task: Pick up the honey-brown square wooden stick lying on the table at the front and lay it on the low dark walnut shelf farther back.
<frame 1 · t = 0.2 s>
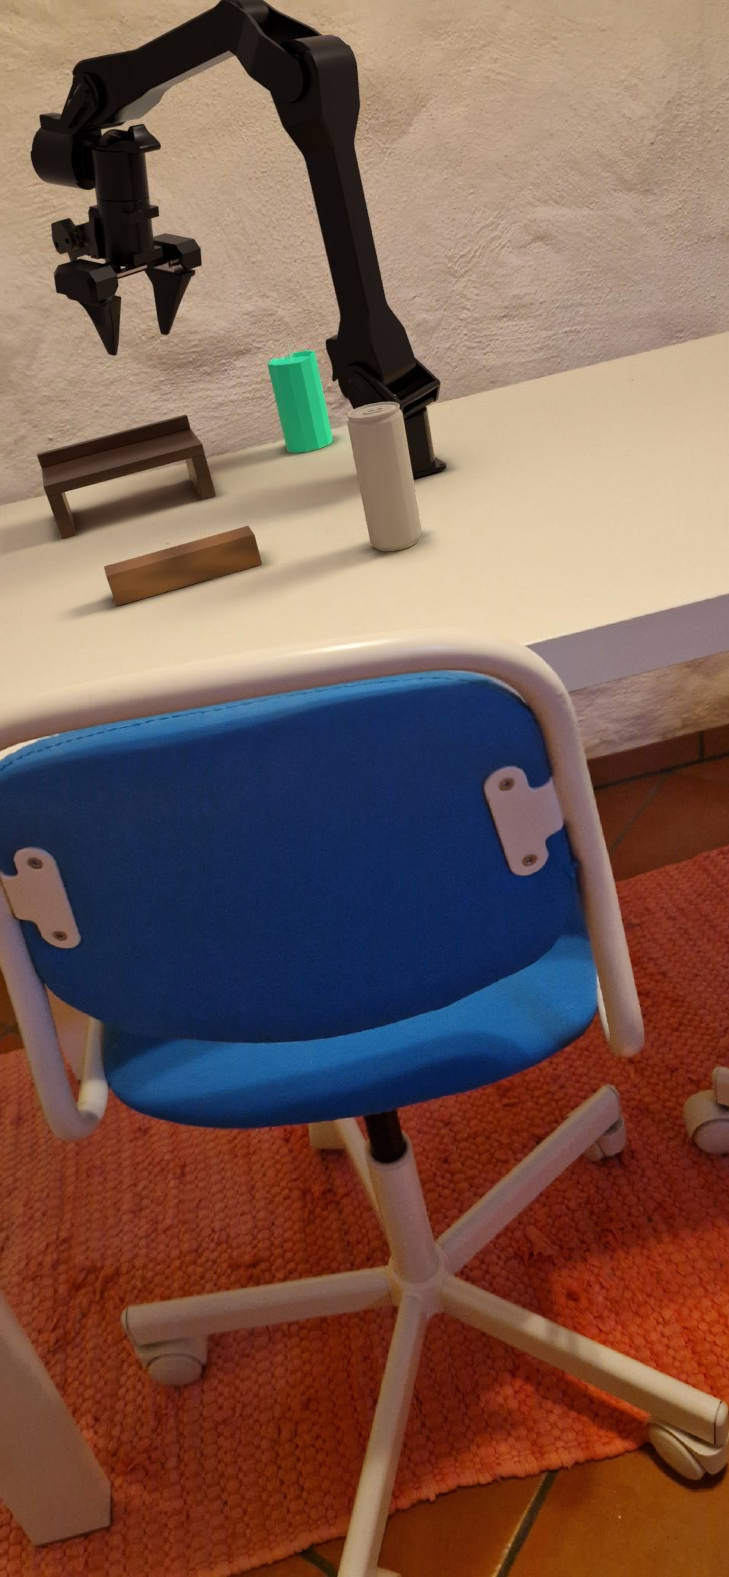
hand: (139, 344, 125), 15 cm above the table, tool pointing down, fingers open, 9 cm apart
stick: (187, 580, 99), on the table
candle: (310, 446, 133), on the table
beverage can: (397, 545, 97), on the table
shelf: (135, 506, 124), on the table
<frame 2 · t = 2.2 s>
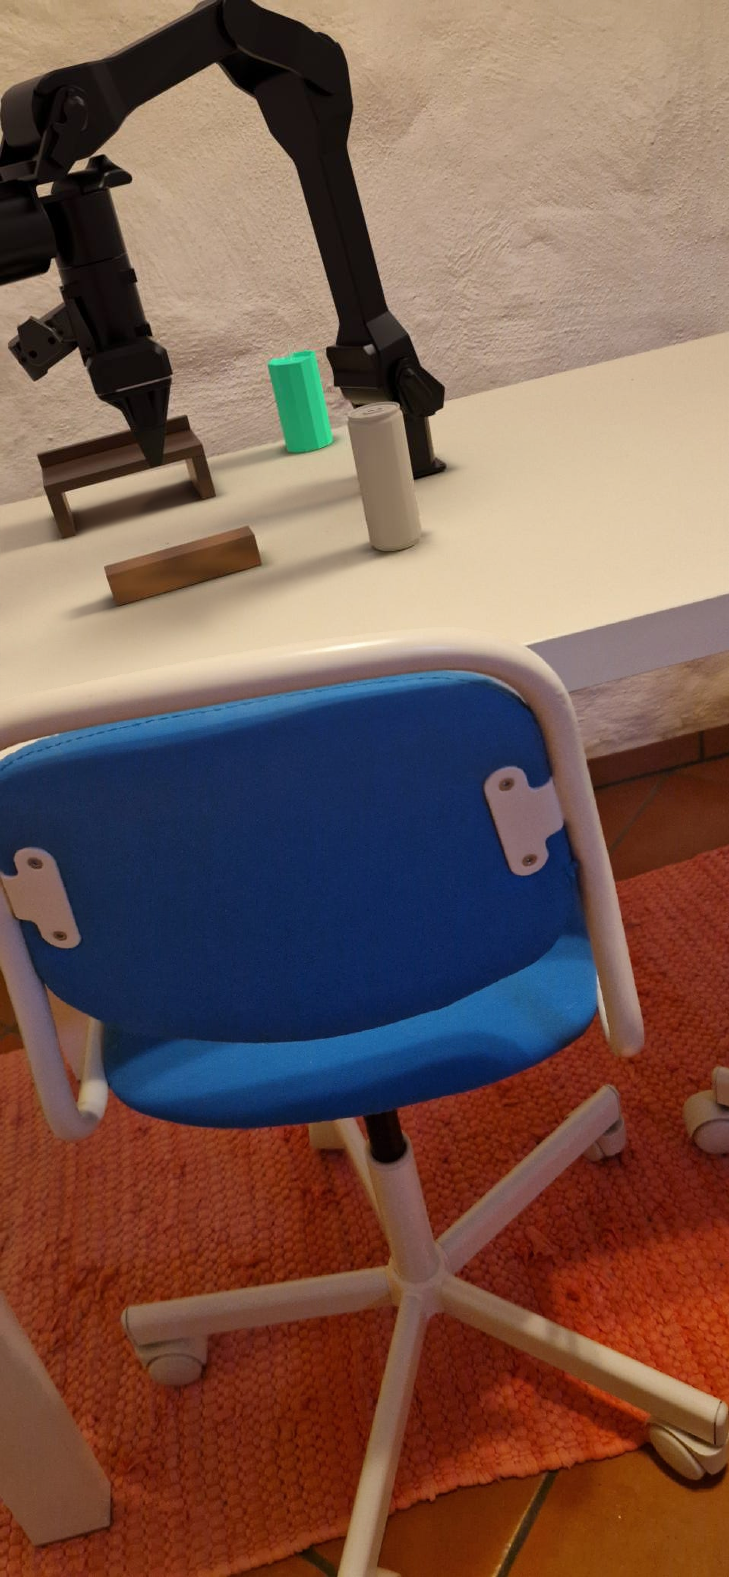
hand: (150, 454, 93), 12 cm above the table, tool pointing down, fingers open, 9 cm apart
nothing on the table moved.
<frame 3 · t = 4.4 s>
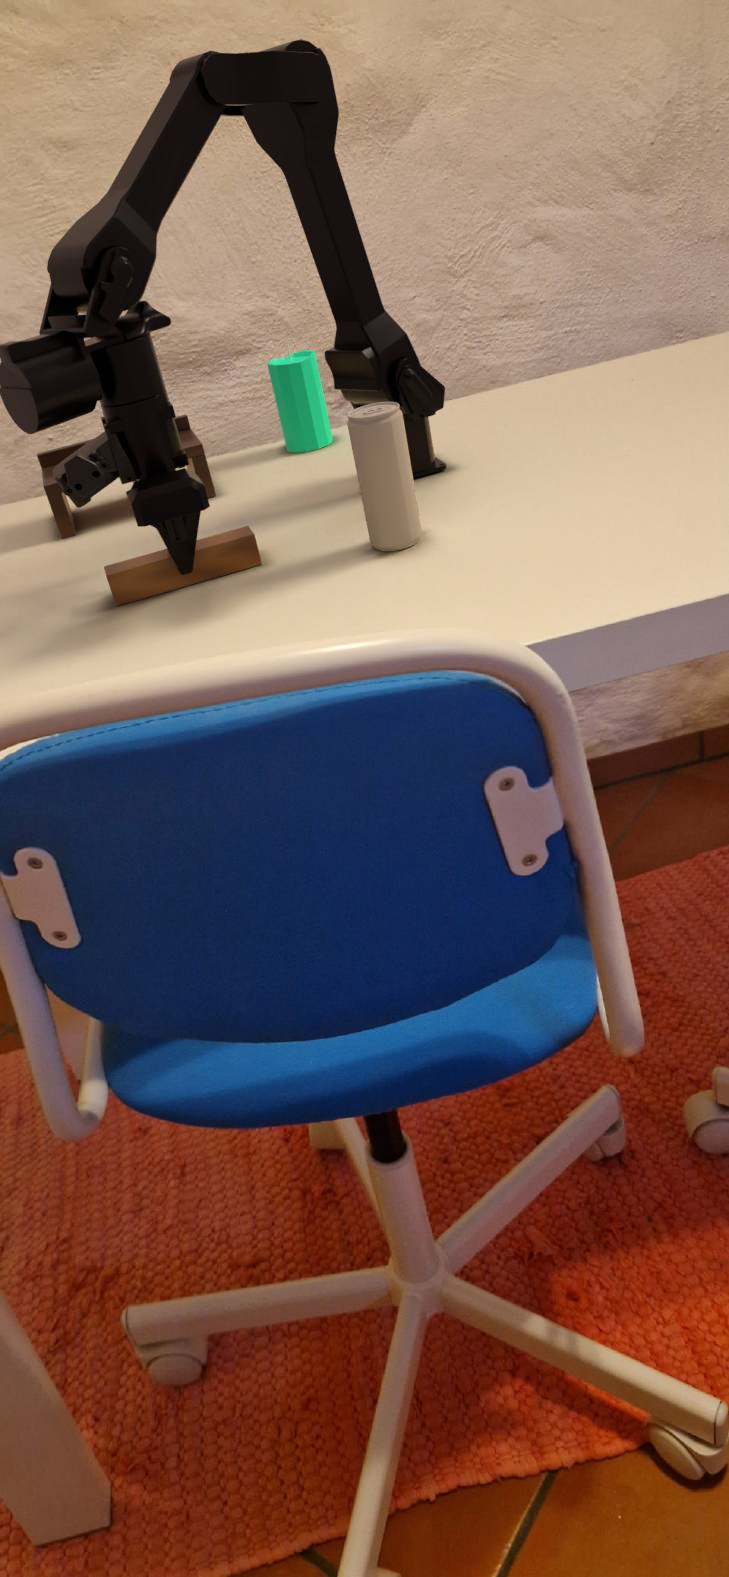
hand: (184, 568, 99), 1 cm above the table, tool pointing down, fingers closed on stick, 3 cm apart
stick: (187, 580, 99), on the table, touching gripper
everything else where it was.
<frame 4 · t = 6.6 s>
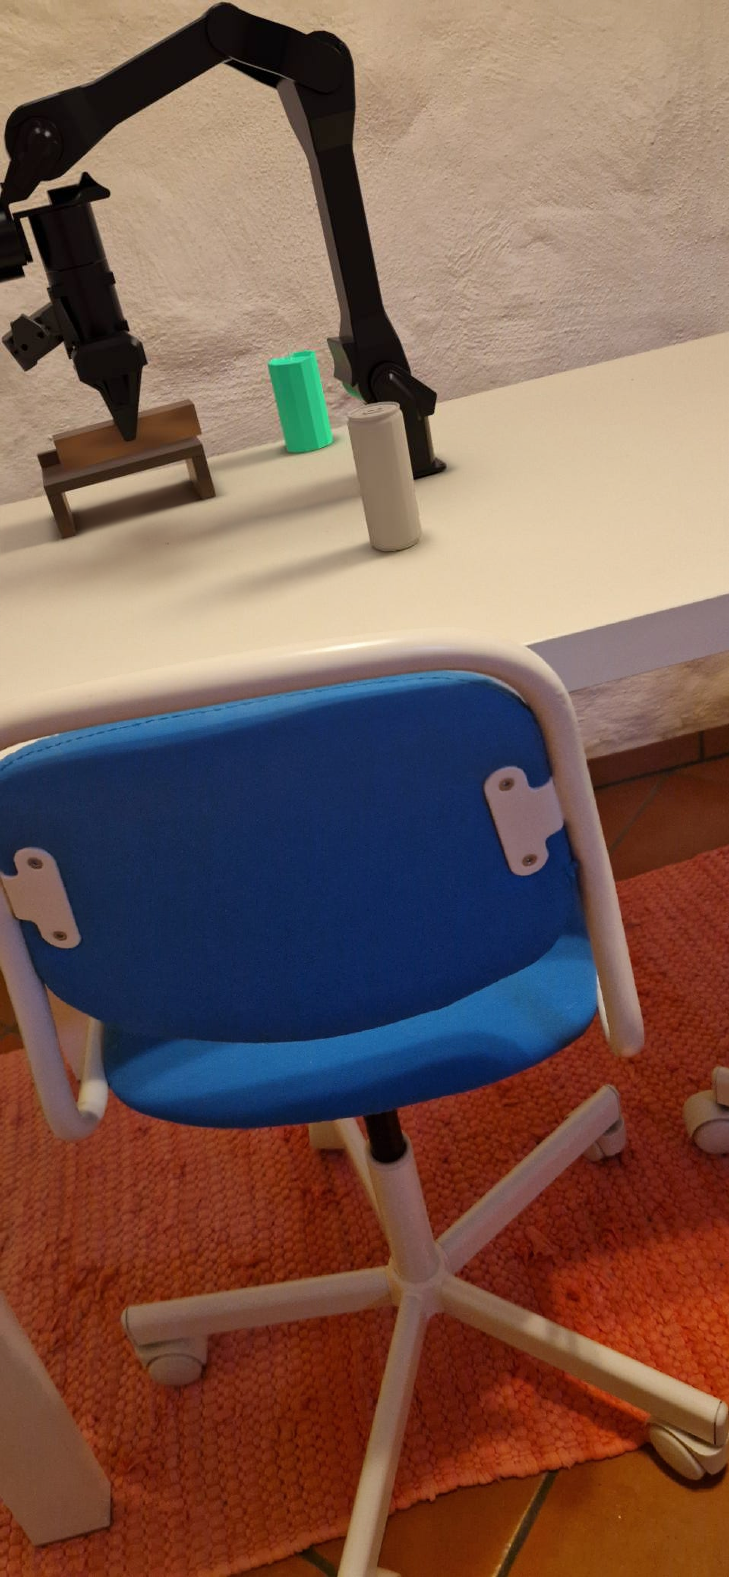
hand: (128, 437, 105), 11 cm above the table, tool pointing down, fingers closed on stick, 3 cm apart
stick: (132, 450, 105), point 10 cm above the table, touching gripper
everything else where it was.
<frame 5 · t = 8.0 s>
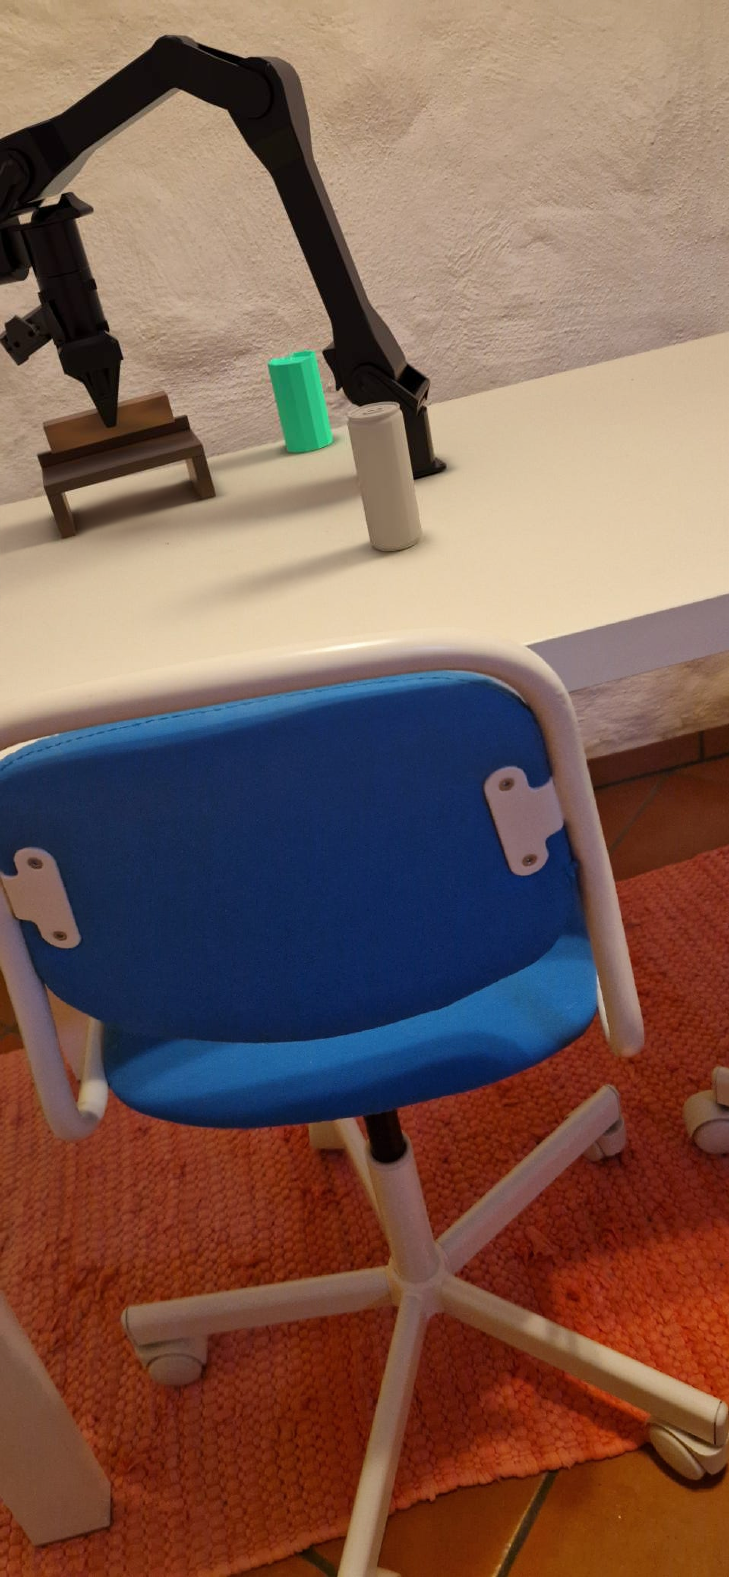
hand: (110, 424, 119), 10 cm above the table, tool pointing down, fingers closed on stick, 3 cm apart
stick: (113, 435, 119), point 8 cm above the table, touching gripper
everything else where it was.
when the fingers open (7 cm above the table, at t = 9.0 s): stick stays where it is, resting on shelf.
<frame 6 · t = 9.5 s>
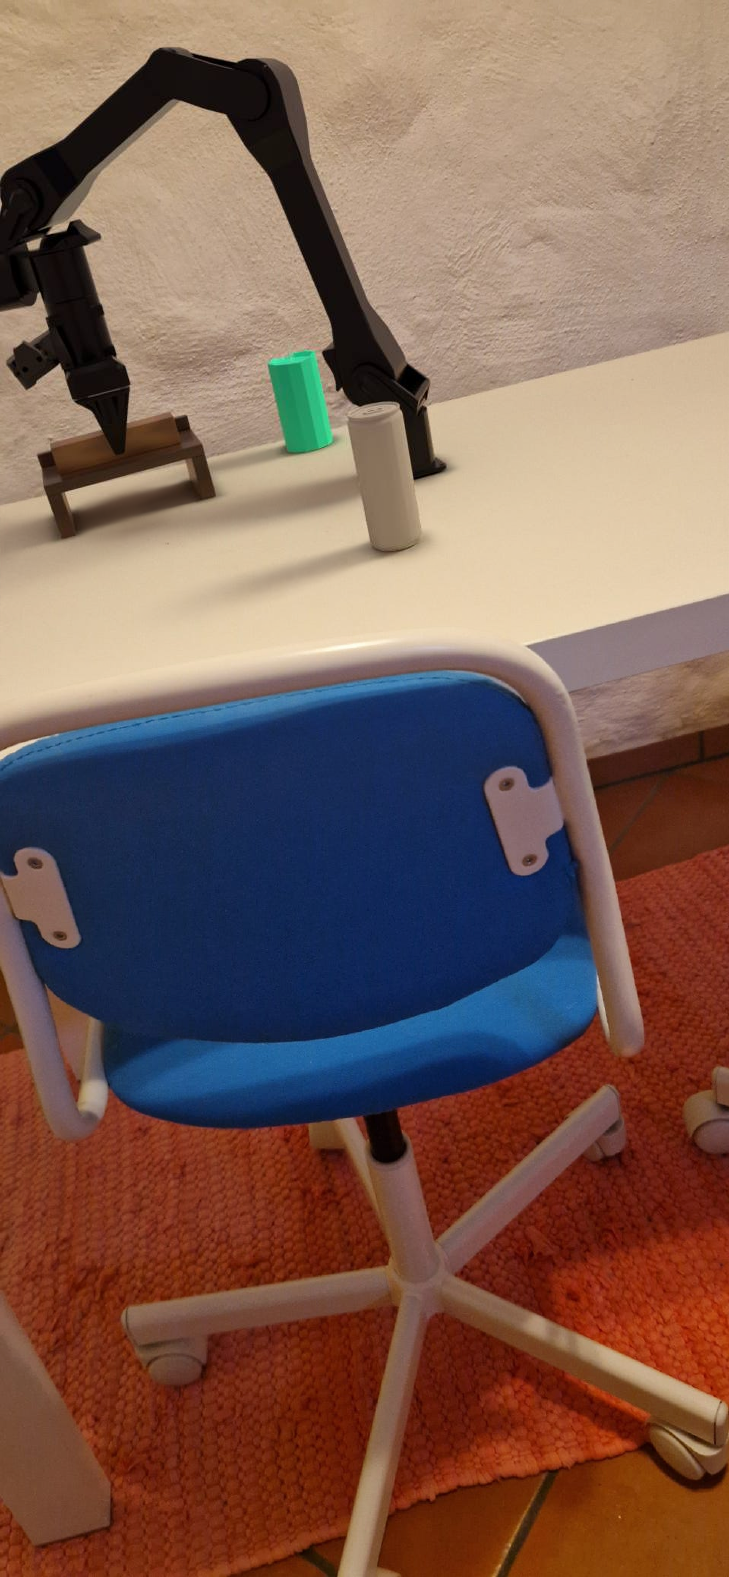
hand: (116, 446, 120), 7 cm above the table, tool pointing down, fingers open, 8 cm apart
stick: (119, 456, 121), point 6 cm above the table, touching shelf
everything else where it was.
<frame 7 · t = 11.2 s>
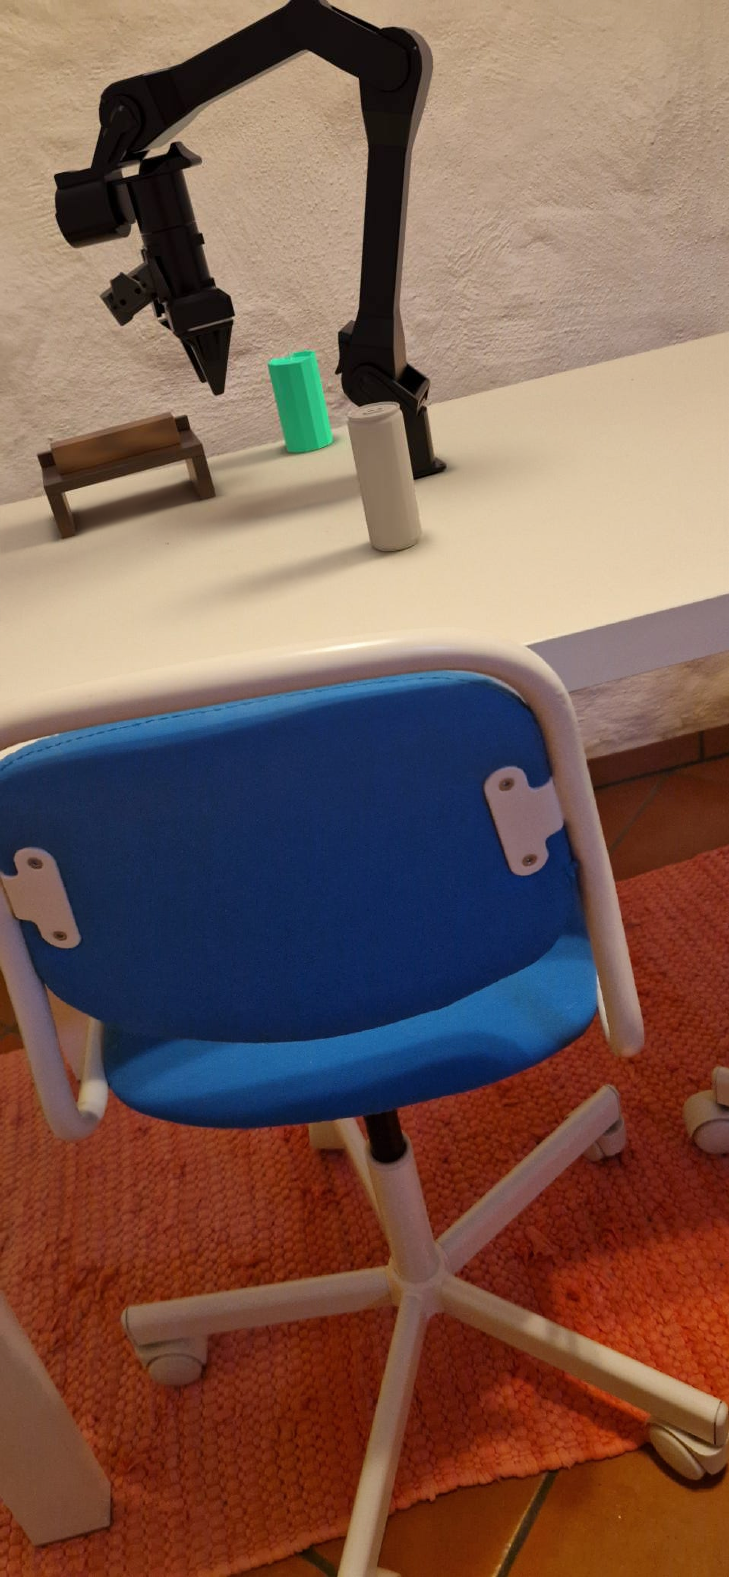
hand: (212, 388, 114), 12 cm above the table, tool pointing down, fingers open, 9 cm apart
nothing on the table moved.
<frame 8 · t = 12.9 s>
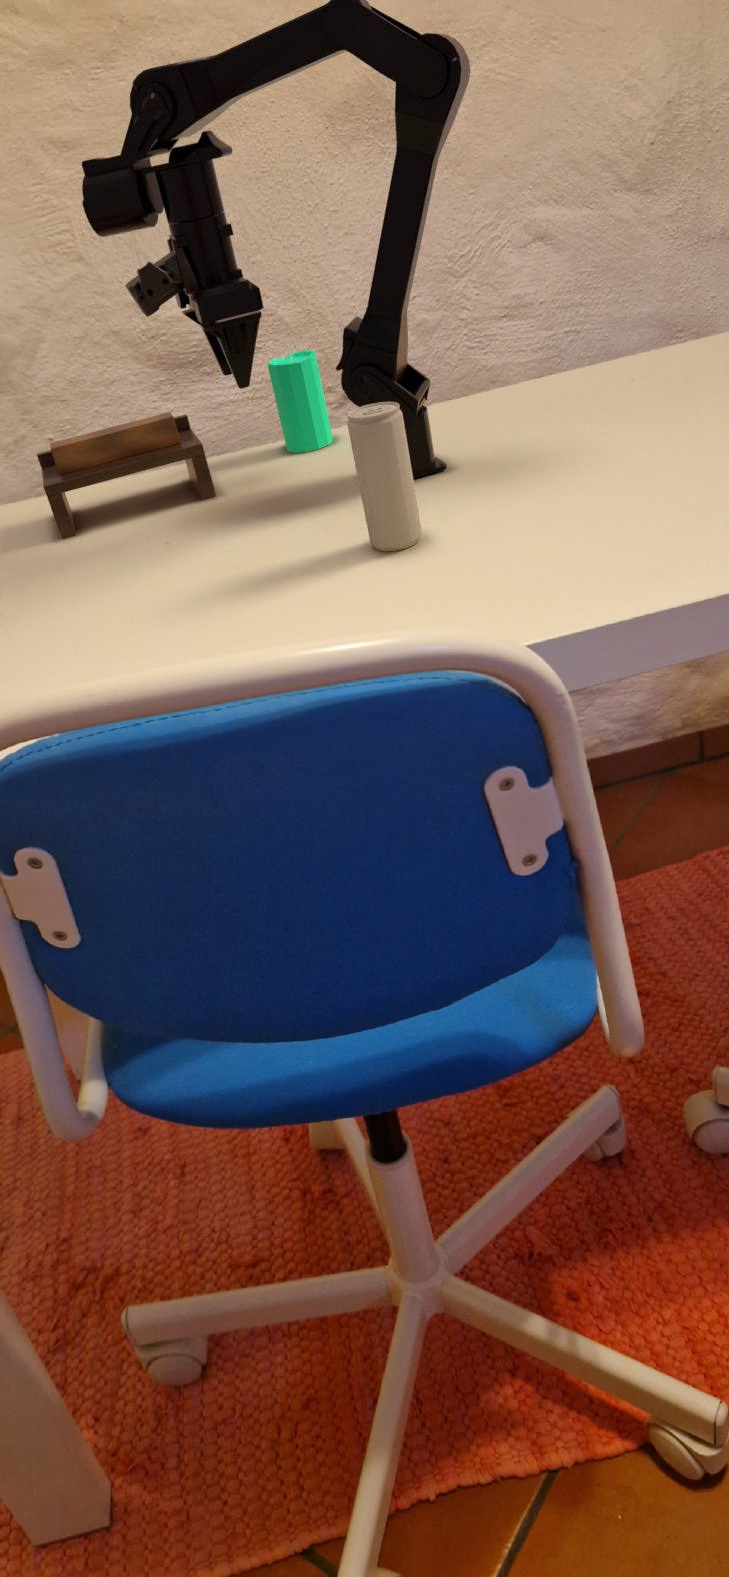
hand: (236, 381, 113), 12 cm above the table, tool pointing down, fingers open, 9 cm apart
nothing on the table moved.
at the end: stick inside the target area on the shelf (0.4 cm from its centre), point 6.0 cm above the shelf's base; the gripper is holding nothing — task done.
